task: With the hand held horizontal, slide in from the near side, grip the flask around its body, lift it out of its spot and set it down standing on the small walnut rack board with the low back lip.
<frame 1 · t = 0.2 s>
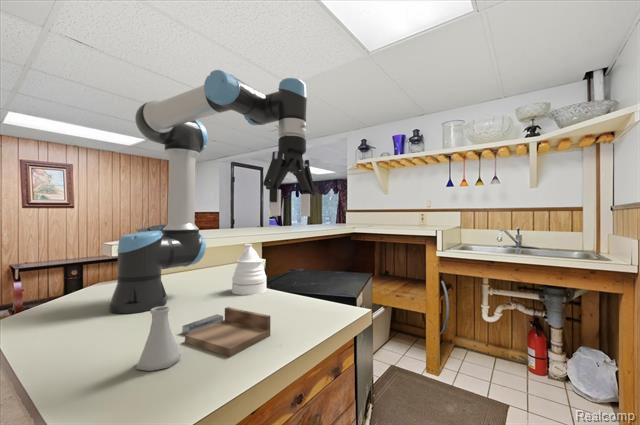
hand: (291, 216, 77), 28 cm above the counter, tool pointing down, fingers open, 13 cm apart
grey rectangular bar: (203, 328, 71), on the counter
flask: (159, 363, 53), on the counter
rack: (228, 338, 64), on the counter
honey pot: (249, 291, 110), on the counter
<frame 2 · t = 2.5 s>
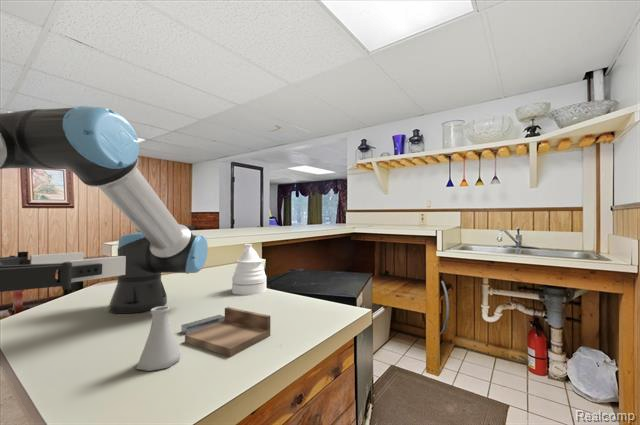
hand: (102, 262, 46), 20 cm above the counter, tool horizontal, fingers open, 13 cm apart
nothing on the counter moved.
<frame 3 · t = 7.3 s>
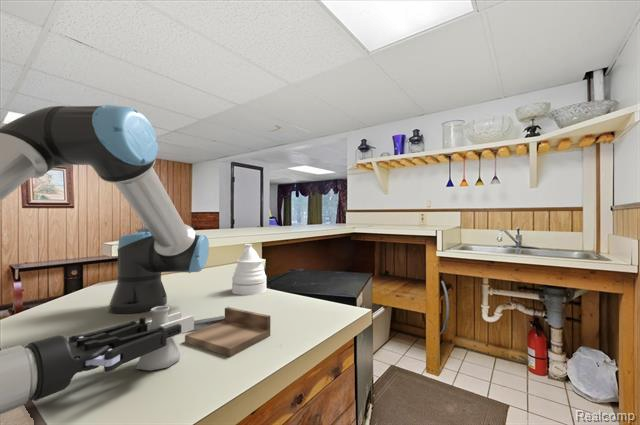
hand: (186, 320, 58), 6 cm above the counter, tool horizontal, fingers closed on flask, 3 cm apart
flask: (159, 363, 53), on the counter, touching gripper
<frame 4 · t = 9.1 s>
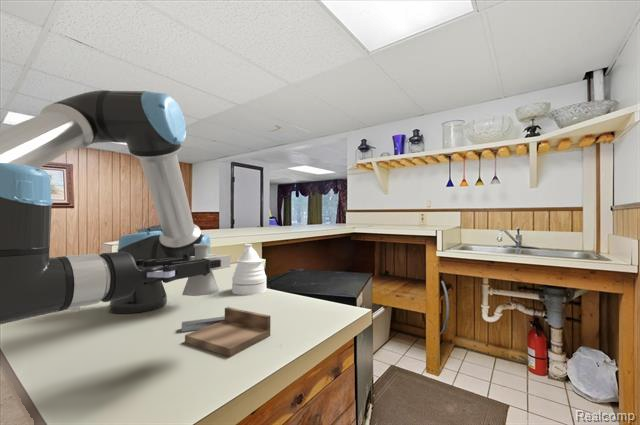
hand: (222, 260, 64), 18 cm above the counter, tool horizontal, fingers closed on flask, 3 cm apart
flask: (201, 293, 59), point 11 cm above the counter, touching gripper
when the fingers open (9 cm above the counter, at t = 11.4 s): flask drops 1 cm, resting on rack.
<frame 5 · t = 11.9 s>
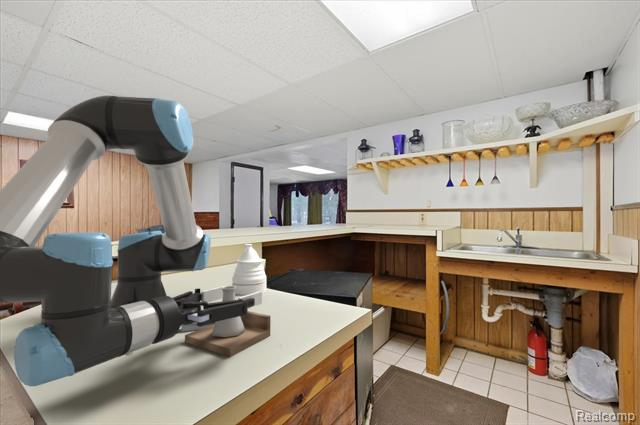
hand: (242, 294, 68), 9 cm above the counter, tool horizontal, fingers open, 11 cm apart
flask: (228, 332, 64), point 1 cm above the counter, touching rack
everything else where it was.
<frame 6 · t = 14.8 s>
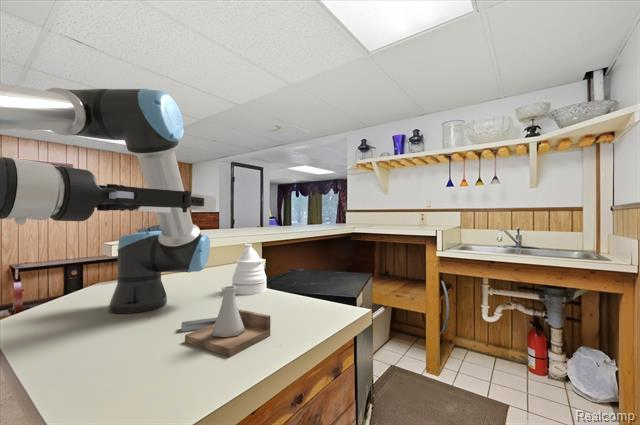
hand: (191, 205, 57), 30 cm above the counter, tool horizontal, fingers open, 13 cm apart
nothing on the counter moved.
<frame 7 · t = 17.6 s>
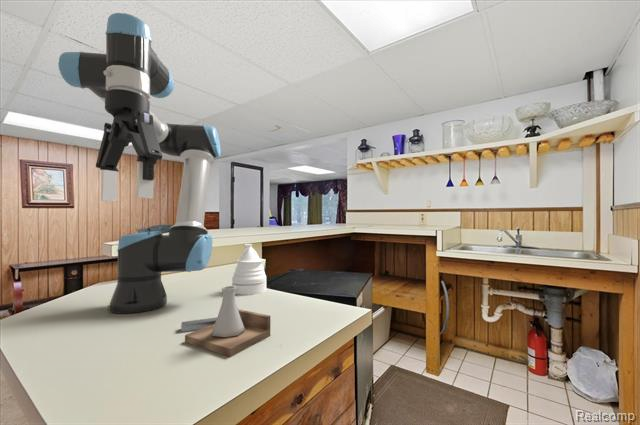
hand: (125, 199, 57), 31 cm above the counter, tool pointing down, fingers open, 13 cm apart
nothing on the counter moved.
at the end: flask inside the target area on the rack (0.1 cm from its centre), point 1.3 cm above the rack's base; flask tilted 0°; the gripper is holding nothing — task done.
